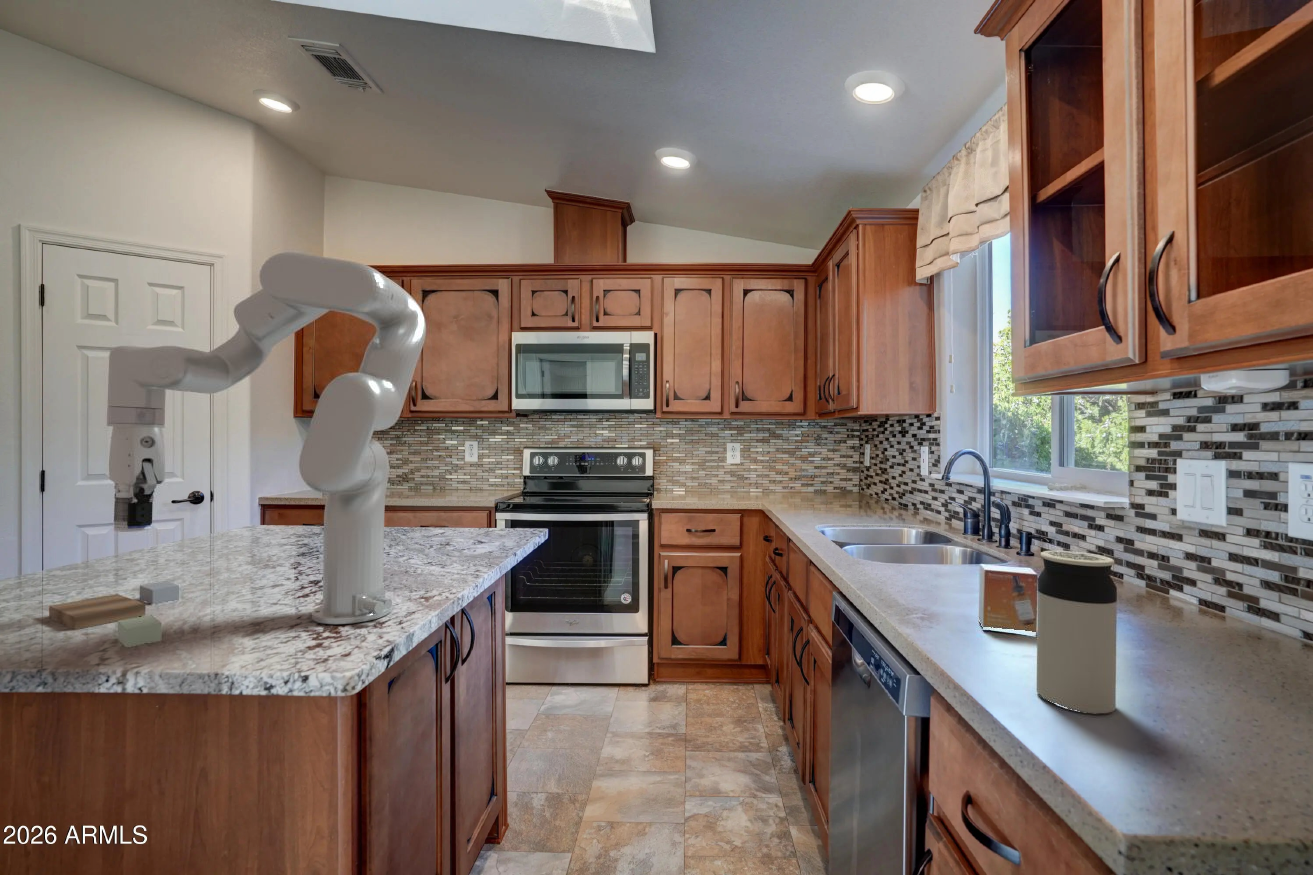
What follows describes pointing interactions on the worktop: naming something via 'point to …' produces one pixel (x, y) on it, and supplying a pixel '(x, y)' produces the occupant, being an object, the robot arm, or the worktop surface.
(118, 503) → the pill bottle
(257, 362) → the robot arm
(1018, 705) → the worktop surface
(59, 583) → the worktop surface
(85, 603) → the walnut block
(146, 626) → the sage brick
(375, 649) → the worktop surface
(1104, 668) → the travel mug
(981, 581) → the small box
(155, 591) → the grey brick
